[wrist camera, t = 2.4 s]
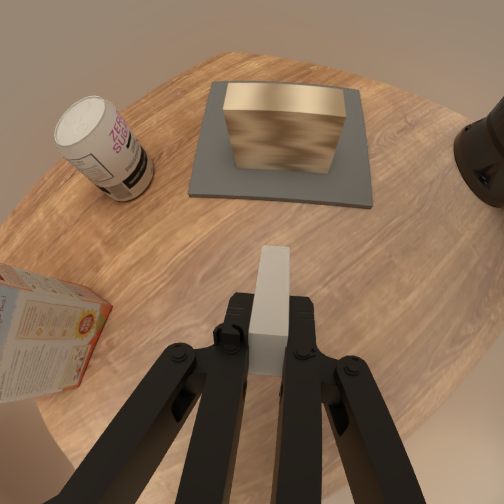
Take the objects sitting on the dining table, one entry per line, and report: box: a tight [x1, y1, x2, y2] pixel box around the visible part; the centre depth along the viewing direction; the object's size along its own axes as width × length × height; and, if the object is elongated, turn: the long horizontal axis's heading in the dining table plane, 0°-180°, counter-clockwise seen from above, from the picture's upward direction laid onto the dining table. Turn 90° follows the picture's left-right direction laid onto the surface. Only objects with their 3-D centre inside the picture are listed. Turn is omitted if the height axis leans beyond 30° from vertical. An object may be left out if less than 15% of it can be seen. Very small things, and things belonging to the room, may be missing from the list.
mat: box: [188, 81, 373, 209], centre depth 40 cm, size 24×21×1 cm
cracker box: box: [0, 263, 112, 403], centre depth 25 cm, size 14×6×21 cm, turn 153°
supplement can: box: [55, 96, 154, 201], centre depth 33 cm, size 8×8×15 cm
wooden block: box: [223, 83, 346, 174], centre depth 32 cm, size 12×4×12 cm, turn 85°
